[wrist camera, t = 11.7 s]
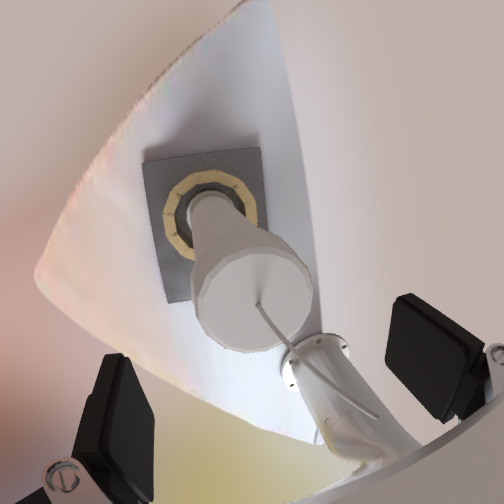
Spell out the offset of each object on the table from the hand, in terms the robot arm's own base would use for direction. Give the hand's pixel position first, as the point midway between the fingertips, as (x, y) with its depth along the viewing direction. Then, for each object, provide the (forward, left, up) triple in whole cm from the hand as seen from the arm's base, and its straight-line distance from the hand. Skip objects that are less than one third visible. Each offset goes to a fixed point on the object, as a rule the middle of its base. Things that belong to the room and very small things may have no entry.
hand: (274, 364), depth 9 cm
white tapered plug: (0, 0, -28) cm, 28 cm away
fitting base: (-2, 0, -29) cm, 29 cm away
